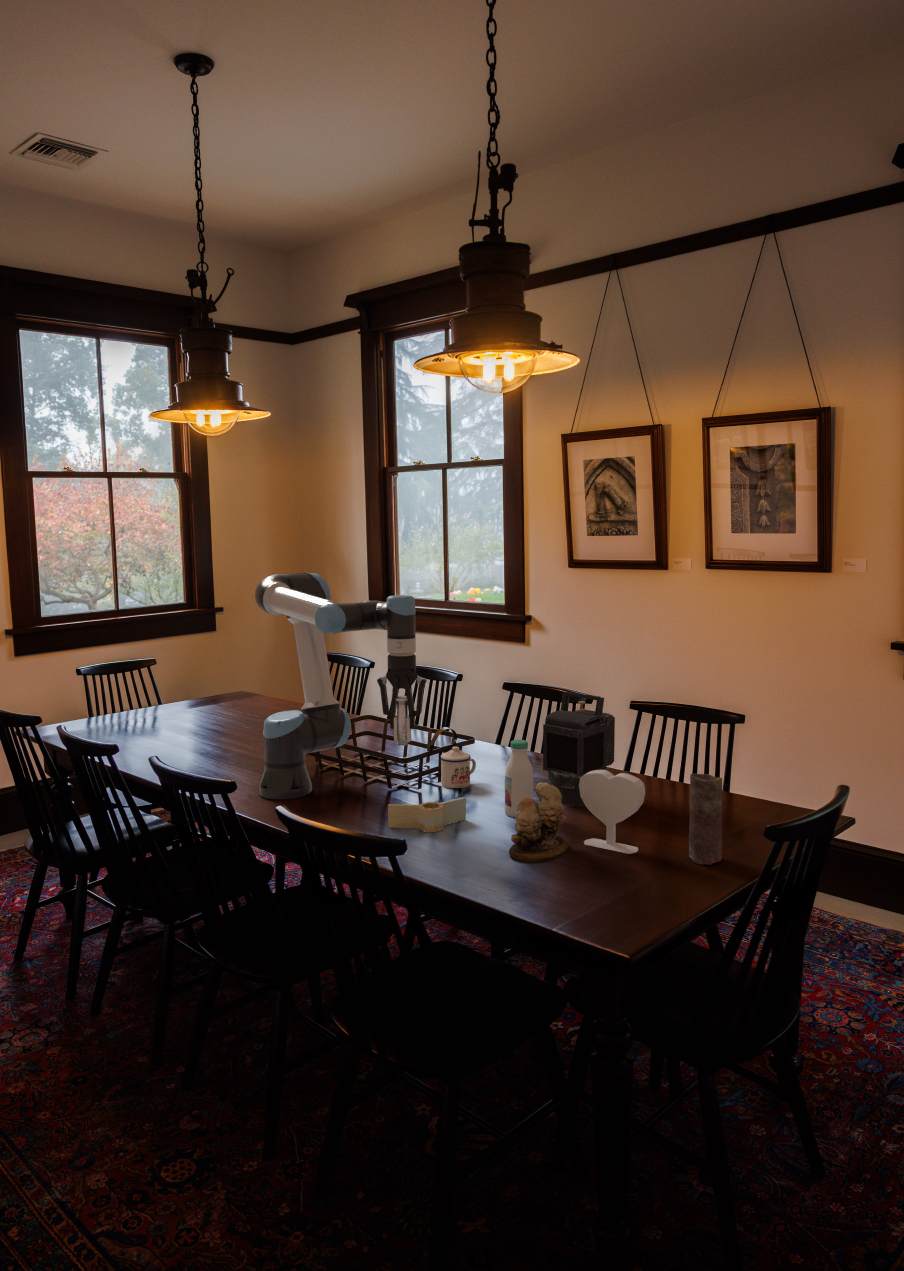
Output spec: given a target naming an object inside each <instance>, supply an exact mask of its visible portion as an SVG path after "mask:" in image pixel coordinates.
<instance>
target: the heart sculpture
mask: <svg viewBox="0 0 904 1271" xmlns="http://www.w3.org/2000/svg"><path fill="white" fill-rule="evenodd" d="M579 789H580V796H581V798H582V800H583V802H584V804H585V806H584V807H586V808H587V809H588V811H589V812H590V813H591V814H592V815H593V816H595V817H596V819H598V820H599V821H600V822H601V823H603V824H604V826H606V828H605V829H606V830H605V831H606V836H605V837H606V838H605V840H604V839H600V838H593V837H591V838H589V839H585V840H584V841H583V843H584V844H583V845H585V846H591V847H595V848H600V849H605V850H609V851H610V850H611V851H614V852H619V853H623V854H628V855H629V854H630V855H631V854H634V853H635V854H636V853H637V852H638V851H639V847H637V846H633V845H628V844H625V843H619V842H616V838H617V837H616V826H617V825H616V824H619V823H621V822H623V821H625V820H626V819H628V818H629V817H631V816H632V815H634V814H635V813H636V812H638V811H639V809H640V808H641V806H642V805H643V803H645V802H644V801H645V796H646V787H645V783H644V782H643V781H642V780H641V779H640V778H638V777H637V776H634V775H633V774H630V773H626V772H620V773H618V774H616V775H615V774H613V773H612V772H610V771H609V770H607V769H605V770H595V771H590V772H588V773H587V774H585V775H583V776H582V777H581V778H580V782H579Z"/></svg>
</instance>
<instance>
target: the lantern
mask: <svg viewBox="0 0 904 1271" xmlns="http://www.w3.org/2000/svg"><path fill="white" fill-rule="evenodd" d="M561 696H562V697H561V703H560V704H561V705H560V709H559V710H556V711H552V712H550V713H548V715H546V717H545V718H544V721H545V723H543V725H542V770H543V771H545V772H547V782H549V783H548V784H550V785H552V786H555V787H557V788H558V789H559V791H560V793H561V794H562V802H561V803H562V804H563V806H568V807H586V806H585V804H584V802H583V800H582V798H581V796H580V789H579V782H580V778H581V777H582V776H583V775H585V774H587V773H588V772H590V771H595V770H607V767H609V766H611V765H613V764H614V762H615V742H616V741H615V739H616V738H615V737H616V736H615V734H616V732H615V728H616V724H615V723H616V717H615V716H614V715H613V714H611V713H608V712H604V703H605V697H601V696H600V695H591V694H585V693H580V692H579V693H578V692H570V691H562V695H561ZM570 697H571V698H579V699H585V700H591V701H596V702H595V709H594V710H590V709H585V708H583V707H584V705H586V701H583V700H580V701H578V705H580V708H578V710H574V711H571V710H569V705H570V704H569V703H570Z"/></svg>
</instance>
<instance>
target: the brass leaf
mask: <svg viewBox="0 0 904 1271" xmlns="http://www.w3.org/2000/svg"><path fill="white" fill-rule="evenodd" d="M443 813H444V805H443V804H441V802H438V801H437V802H436V801H434V802H433V801H426V802H423V803H419V804H405V803H404V804H399V803H398V804H397V803H389V804H388V805H387V823H388V825H387V826H388V829H400V828H399V827H403V828H402V829H410V828H419V829H420V830H422V831H425V832H436V833H438V832H437V831H439V832H442V831H441V830H443V831H444V827H445V826H444V820H443V823H441V824H437V825H424V824H421V823H419V822H418V815H420V816H423V817H433V818H434V817H438V816H442V815H443ZM419 829H418V830H419ZM420 830H419V831H420ZM422 831H421V832H422ZM425 832H424V833H425Z"/></svg>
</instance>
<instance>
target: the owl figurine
mask: <svg viewBox="0 0 904 1271" xmlns="http://www.w3.org/2000/svg"><path fill="white" fill-rule="evenodd" d="M535 794H536V796H537V797H538V798H537V799H538V802H537V801H536V800H533V799H532V798H529V797H523V798H521V799H520V803H519V805H518V807H517V813H516V817H515V820H514V821H515V823H514V830H515V832H516V833H514V834H511V837H510V841H511V842H512V843H513V844H511V847H510V848H509V850H508V855H509V858H511V859H512V860H513V861H516V862H519V863H523V864H540V863H545V862H550V861H553V860H555V859H558V858H561V857H562V856H564V855H565V854H566V853H567V852H568V850H569V842H568V841H567V840H566V839H565V838H564V837H562V836H561V835H559V831H560V829H561V827H562V825H564V824H563V823H564V822H565V821H566V817H567V816H565V815H563V813H564V811H565V805H563V804H562V803H561V802H562V794H561V793H560V791H559V789H558V788H557V787H555V786H553V785H552V784H551V783H548V782H542V781H540V782H538V783H537V784H536V786H535Z"/></svg>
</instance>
